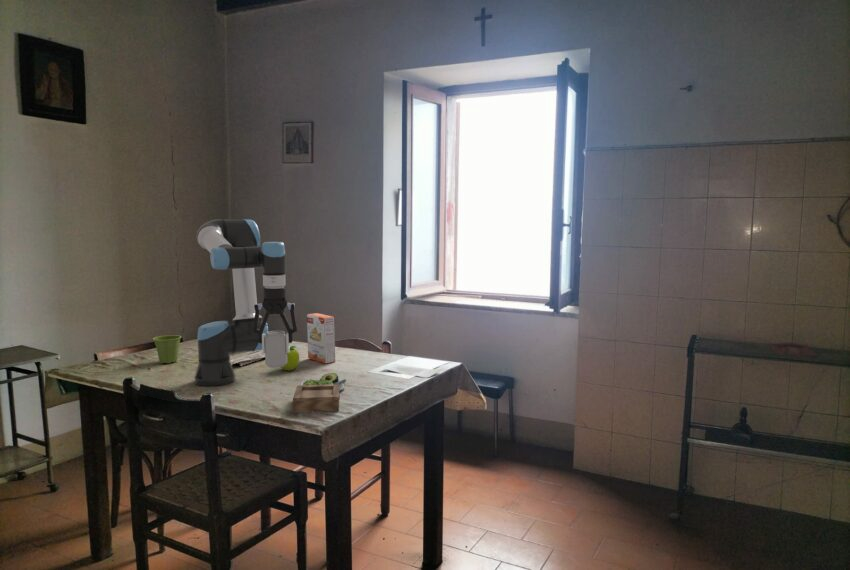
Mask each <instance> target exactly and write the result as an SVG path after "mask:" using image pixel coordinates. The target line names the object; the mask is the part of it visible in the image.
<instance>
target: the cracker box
mask: <svg viewBox="0 0 850 570" xmlns="http://www.w3.org/2000/svg"><path fill="white" fill-rule="evenodd" d="M335 321H336V320H335V317H334V316H332V315H327V314H323V313H318V312H316V313H315V312H314V313H308V314H306V325H307V326H306V327H307V328H306V331H307V358H310V359H309V360H312V359H313V361H315V360H316V361H315V362H318V363H321V362H322V364H324V363H325V365H326V363H328V364H331V362H332V363H336V335H335V333H336V332H335V331H336V329H335V328H336V327H335Z"/></svg>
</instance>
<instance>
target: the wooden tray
mask: <svg viewBox="0 0 850 570" xmlns="http://www.w3.org/2000/svg"><path fill="white" fill-rule="evenodd" d="M340 392H341V391H340V384H331V385H300V384H299V385H296V388H295V390H294V394H293V398H292V410H293V411H292V413H293V414H295V413H294V412H300V413H317V412H316V411H327V412H339V411H340V401H339V400H340V398H341V396H340V394H341V393H340ZM312 411H314V412H312Z"/></svg>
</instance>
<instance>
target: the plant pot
mask: <svg viewBox="0 0 850 570" xmlns="http://www.w3.org/2000/svg"><path fill="white" fill-rule="evenodd" d="M181 339H182V335H176V334H175V335H173V334H171V335H160V336H155V337H152V340H153V341H154V345H155V348H156V353H157V356H158V360H159V363H160V362H161V363H160V364H163V363H166V364H172V363H171V362H175V361H178V356H179V348H180V343H181ZM175 363H176V362H175Z"/></svg>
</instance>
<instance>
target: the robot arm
mask: <svg viewBox="0 0 850 570" xmlns="http://www.w3.org/2000/svg"><path fill="white" fill-rule="evenodd" d="M196 241H197V243H198V245H199V246H200V247H201V248H202V249H203V250H205V251H208V252H209V254H210V255H209V256H210V265H211V268H212V269H214V270H223V271H224V270H232V281H233V282H232V283H233V293H234V305H235V317H234V318H233V319H232V323H231V324H230V323H229V321H228V320H218V321H217V320H216V321H212V322H209V323H205V324H202V325H201V326H199V327H198V329H197V337H196V339H197V346H198V347H197V349H198V351H197V352H198V354H197V355H198V366H197V368H196V373H195V374H194V384H195V385H197V386H201V387H216V386H218V387H219V386H224V385H228V384H230V383H233V382H235V381H236V373H235V371H234V368H233V365H231V363H230V360H231V354H240V353H249V352H250V353H253V352H256V351H259V350H262V353H265V336H266V335H267V334H266V333H267V332H269V326H268V320H269V318H270V315H274V314H275V315H279V317H280V318H281V319H282V322H283V324H284V326H285V329H286V331H287V332H286V333H285V335H286V350H287V353H289V351H290V347H291V346H290V344H291V343H292V342H293V333H297V331H298V323H297V317H296V312H295V311H296V310H295V309H296V308H295V307H296V303H295V302H292V303H291V302H288V301H287V294H286V293H287V291H286V287H285V286H286V249H285V248H286V247H285V244H284V242H283V241H265V242H263V243H262V244H261V234H260V230H259V226H258V225H257V222H255V221H254V220H253V219H244V218H239V219H238V218H236V219H234V218H232V219H231V218H230V219H229V218H228V219H223V218H222V219H220V218H218V219H217V218H216V219H211V220H209V221H207V222H206V221H205V223H204V224H202V225H201V226H200V227H199V228H198V230H197V232H196ZM255 269H262V286H263V287H264V288H262V291H263V292H262V293H263V294H262V295H263V300H262V302H260V303H258V299H257V297H258V296H257V285H256V274H255ZM262 307H263V308H264V310H265V314H264V317H263V316H262V315H261V314H260V313H261V310H262ZM286 307H287V308H288V310H289V312H290V319H291V323H292V326H291V324H290V322H289V320H288V318H287V315H286V313H285V311H284V310H285V309H286Z"/></svg>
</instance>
